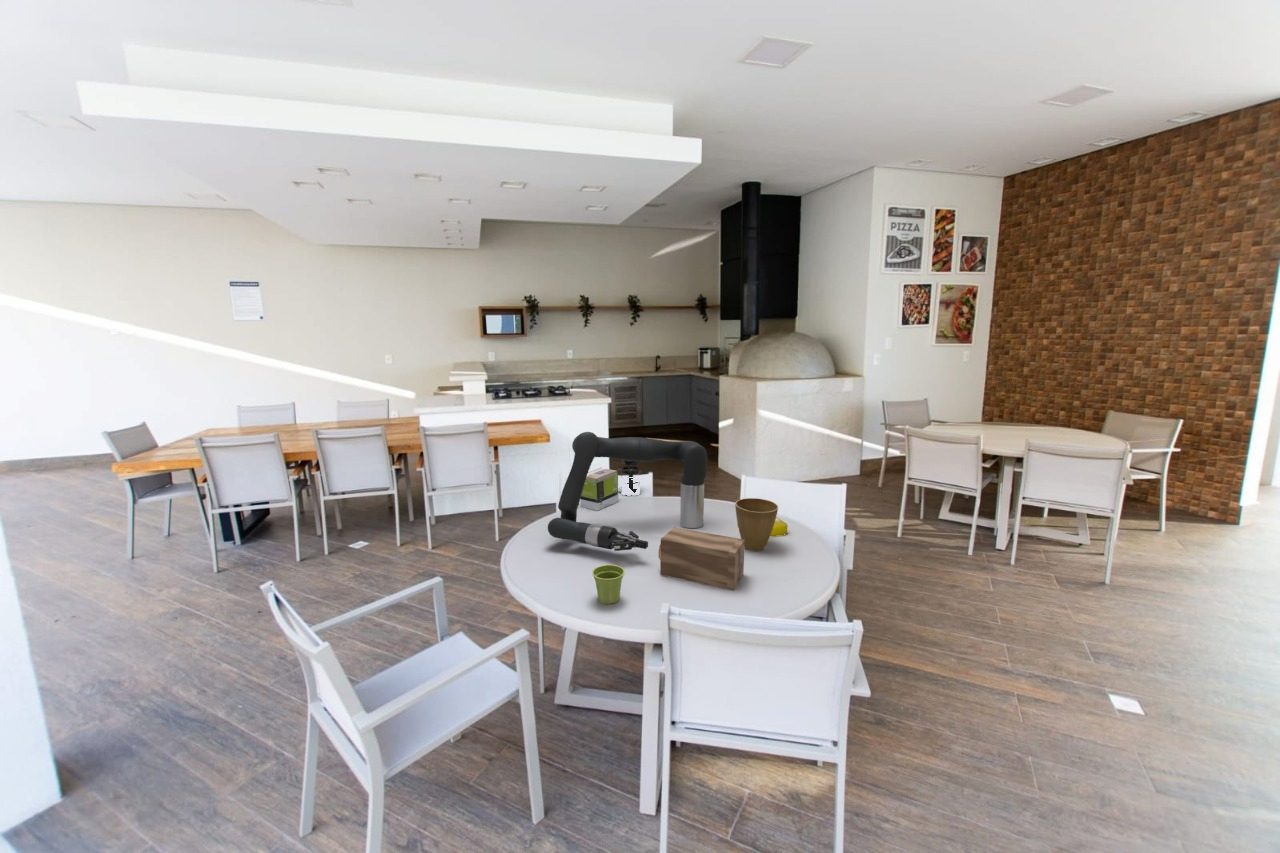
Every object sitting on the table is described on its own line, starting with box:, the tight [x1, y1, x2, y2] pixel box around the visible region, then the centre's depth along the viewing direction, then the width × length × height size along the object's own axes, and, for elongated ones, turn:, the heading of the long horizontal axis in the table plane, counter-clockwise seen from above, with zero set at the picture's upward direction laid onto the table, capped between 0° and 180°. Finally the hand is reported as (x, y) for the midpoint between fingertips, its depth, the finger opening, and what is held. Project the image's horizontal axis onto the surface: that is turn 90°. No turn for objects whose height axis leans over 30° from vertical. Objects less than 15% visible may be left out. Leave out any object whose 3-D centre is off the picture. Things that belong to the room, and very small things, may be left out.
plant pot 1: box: [591, 564, 625, 605], centre depth 157 cm, size 9×9×9 cm
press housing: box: [659, 527, 745, 591], centre depth 171 cm, size 11×24×12 cm, turn 65°
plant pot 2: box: [734, 497, 779, 552], centre depth 193 cm, size 15×15×16 cm
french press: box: [616, 460, 641, 493], centre depth 252 cm, size 12×9×23 cm
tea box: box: [579, 467, 619, 512], centre depth 238 cm, size 15×10×15 cm, turn 145°
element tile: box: [736, 516, 788, 537], centre depth 210 cm, size 15×15×5 cm
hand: (647, 545), depth 179 cm, fingers closed
